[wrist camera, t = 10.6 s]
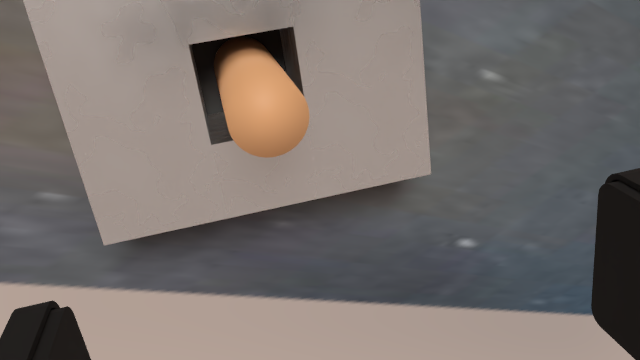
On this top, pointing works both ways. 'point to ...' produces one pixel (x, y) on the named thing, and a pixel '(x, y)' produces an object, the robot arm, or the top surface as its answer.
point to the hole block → (211, 130)
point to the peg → (259, 99)
